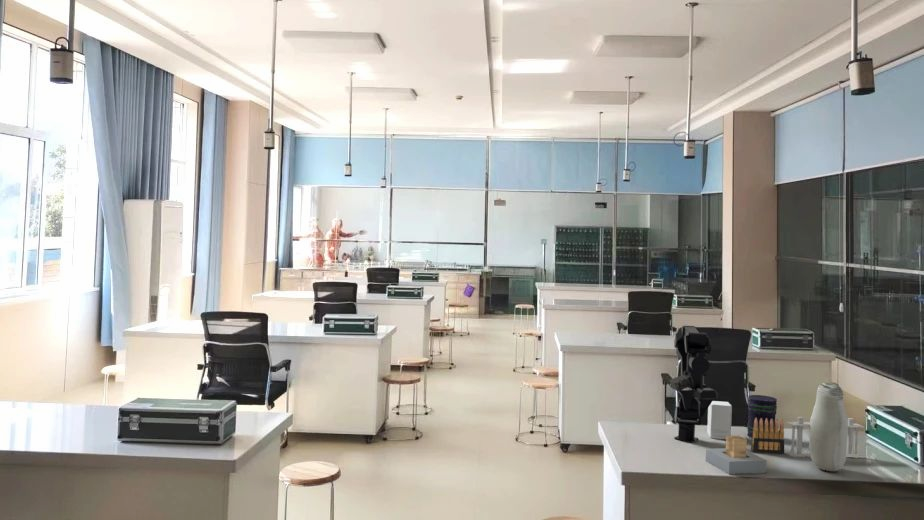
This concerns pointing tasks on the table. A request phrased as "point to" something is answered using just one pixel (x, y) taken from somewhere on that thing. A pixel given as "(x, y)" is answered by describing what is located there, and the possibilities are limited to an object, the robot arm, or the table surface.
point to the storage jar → (761, 411)
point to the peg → (736, 446)
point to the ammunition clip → (768, 437)
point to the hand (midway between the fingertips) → (693, 413)
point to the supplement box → (719, 419)
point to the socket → (736, 462)
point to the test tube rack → (799, 437)
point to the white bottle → (829, 428)
